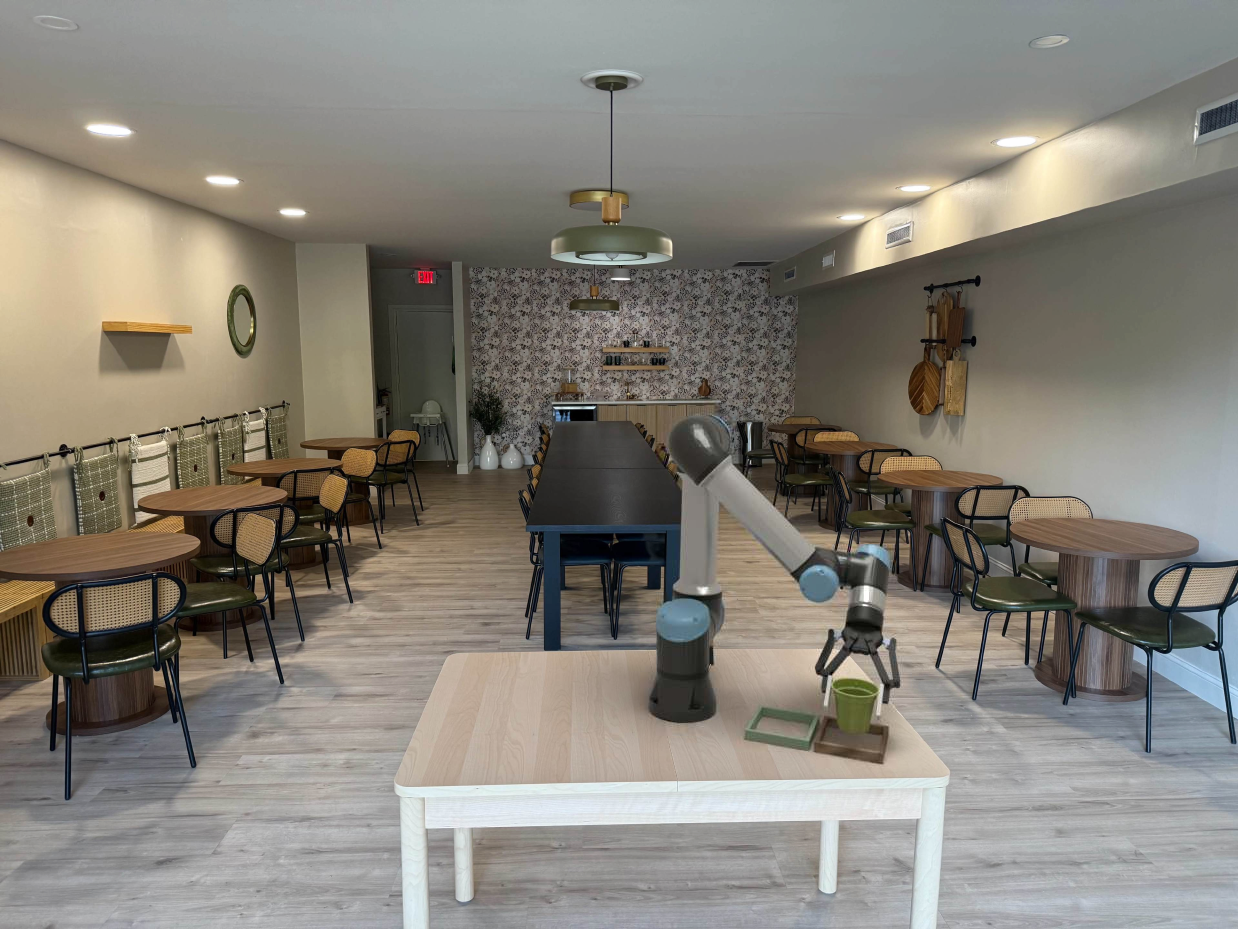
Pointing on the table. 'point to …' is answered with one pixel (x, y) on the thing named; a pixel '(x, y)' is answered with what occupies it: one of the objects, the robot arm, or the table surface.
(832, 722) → the walnut collar
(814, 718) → the sage green collar
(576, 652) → the table surface
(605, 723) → the table surface
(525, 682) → the table surface
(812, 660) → the table surface
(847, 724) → the plant pot
